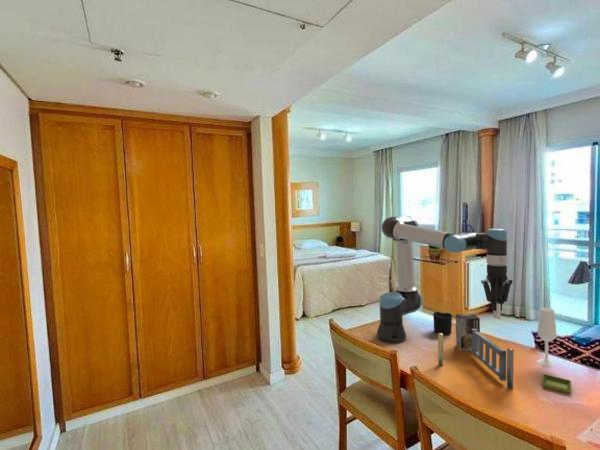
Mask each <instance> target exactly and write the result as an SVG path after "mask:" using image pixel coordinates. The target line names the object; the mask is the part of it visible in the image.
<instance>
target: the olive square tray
mask: <svg viewBox="0 0 600 450" xmlns="http://www.w3.org/2000/svg"><path fill="white" fill-rule="evenodd" d="M541 379H542V380H541V383H542V385H543V387H545V388H547V389H551V390H556V391H559V392H561V393H562V392H563V393H565V394H567V393H570V392H571V391H572V381H571V380H570V379H567V378H566V379H565V378H563V377H562V378H561V377H557V376H553V375H549V374H545V373H543V374H542V378H541Z"/></svg>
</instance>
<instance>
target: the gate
mask: <svg viewBox="0 0 600 450" xmlns="http://www.w3.org/2000/svg"><path fill="white" fill-rule="evenodd" d="M477 339H479V351H477ZM484 346H485V347H484ZM490 352H491V354H490ZM471 355H472V357H476V358H477V359H478V360H479V361H480V362H481V363H482V364H484V366H486V367H487V368H488V369H489V370H490V371H492V372H493V373H494V374H495V375H496V376H497V377H498V379H499V380H500V381H501V382H505V381H506V382H507V350H506V349H504V348H501V347H500V346H499V345H497V344H496V343H495V342H493V341H492V340H490V339H489V338H488V337H487V336H485V335H484V334H482V333H481V332H480V333H479V332H478V331H477V329H472V351H471ZM484 355H485V356H484ZM490 355H491V356H490ZM497 355H498V367H497ZM490 359H491V361H490Z"/></svg>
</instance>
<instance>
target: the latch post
mask: <svg viewBox="0 0 600 450" xmlns="http://www.w3.org/2000/svg"><path fill="white" fill-rule="evenodd" d="M437 341H438V342H437V344H438V345H437V347H438V349H437V351H438V355H437V356H438V357H437V358H438V359H437V360H438V361H437V362H438V366H441V367H442V366H444V335H443V334H442V333H437Z"/></svg>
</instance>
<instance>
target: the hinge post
mask: <svg viewBox="0 0 600 450" xmlns="http://www.w3.org/2000/svg"><path fill="white" fill-rule="evenodd" d="M506 388H507V389H509V390H513V389H514V349H513V348H507V350H506Z"/></svg>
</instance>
